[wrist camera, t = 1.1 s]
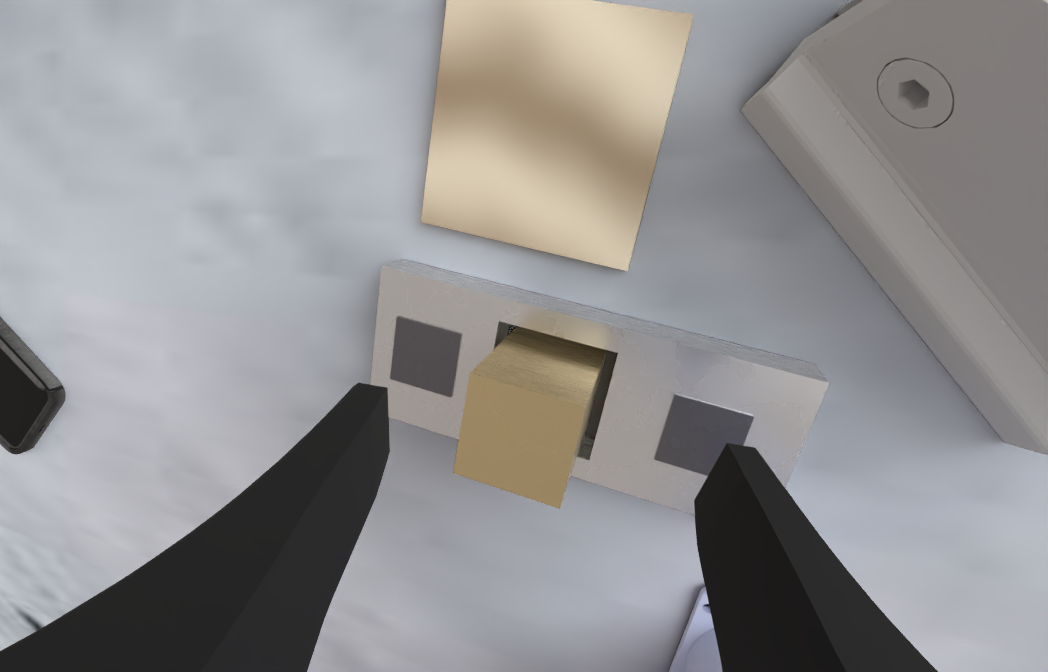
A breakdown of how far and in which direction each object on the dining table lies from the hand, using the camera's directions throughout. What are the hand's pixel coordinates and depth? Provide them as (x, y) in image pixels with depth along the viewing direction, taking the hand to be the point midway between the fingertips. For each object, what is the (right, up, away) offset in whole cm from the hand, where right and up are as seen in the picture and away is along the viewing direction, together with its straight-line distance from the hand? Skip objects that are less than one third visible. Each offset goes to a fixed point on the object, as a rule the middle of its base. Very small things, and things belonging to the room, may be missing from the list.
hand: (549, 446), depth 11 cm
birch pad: (0, +11, +10) cm, 14 cm away
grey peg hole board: (+2, 0, +12) cm, 12 cm away
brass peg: (+1, +1, +13) cm, 13 cm away
